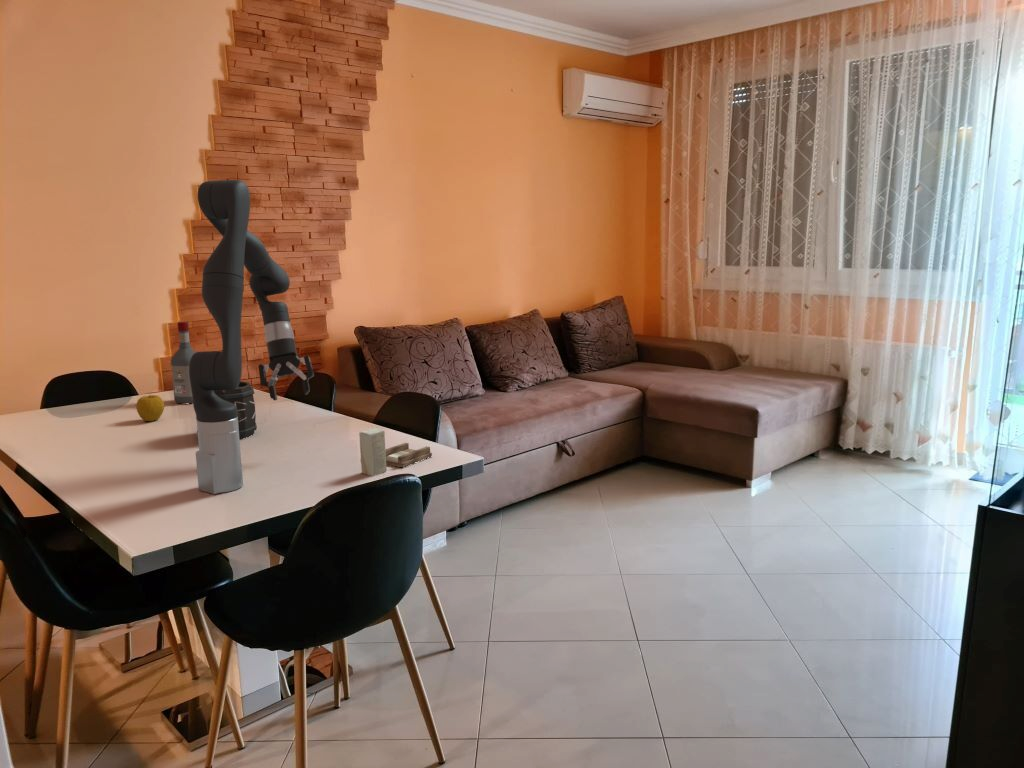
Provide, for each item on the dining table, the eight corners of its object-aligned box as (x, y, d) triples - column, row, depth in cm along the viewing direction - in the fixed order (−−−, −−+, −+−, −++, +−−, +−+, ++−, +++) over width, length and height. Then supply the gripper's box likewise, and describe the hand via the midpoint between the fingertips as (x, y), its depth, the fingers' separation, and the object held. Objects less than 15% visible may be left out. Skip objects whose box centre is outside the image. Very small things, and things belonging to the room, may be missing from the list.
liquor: (192, 404, 275) (185, 323, 270) (171, 403, 277) (163, 323, 272) (208, 399, 284) (201, 321, 279) (187, 398, 286) (180, 320, 281)
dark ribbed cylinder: (207, 446, 218) (203, 393, 215) (189, 434, 232) (184, 385, 229) (267, 436, 229) (264, 386, 226) (246, 425, 243) (243, 378, 240)
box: (376, 468, 195) (374, 427, 193) (387, 471, 192) (385, 430, 190) (360, 473, 191) (358, 431, 189) (371, 476, 189) (369, 434, 186)
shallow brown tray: (403, 468, 195) (402, 457, 195) (374, 462, 201) (374, 452, 200) (431, 457, 205) (431, 447, 205) (404, 451, 211) (403, 442, 210)
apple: (155, 424, 245) (152, 398, 244) (131, 423, 247) (129, 397, 245) (170, 418, 254) (168, 393, 252) (148, 417, 255) (145, 392, 253)
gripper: (250, 343, 202) (261, 401, 201) (303, 333, 204) (314, 391, 203) (257, 346, 210) (268, 403, 209) (308, 337, 211) (319, 393, 210)
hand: (291, 397), depth 206 cm, fingers open, 8 cm apart
